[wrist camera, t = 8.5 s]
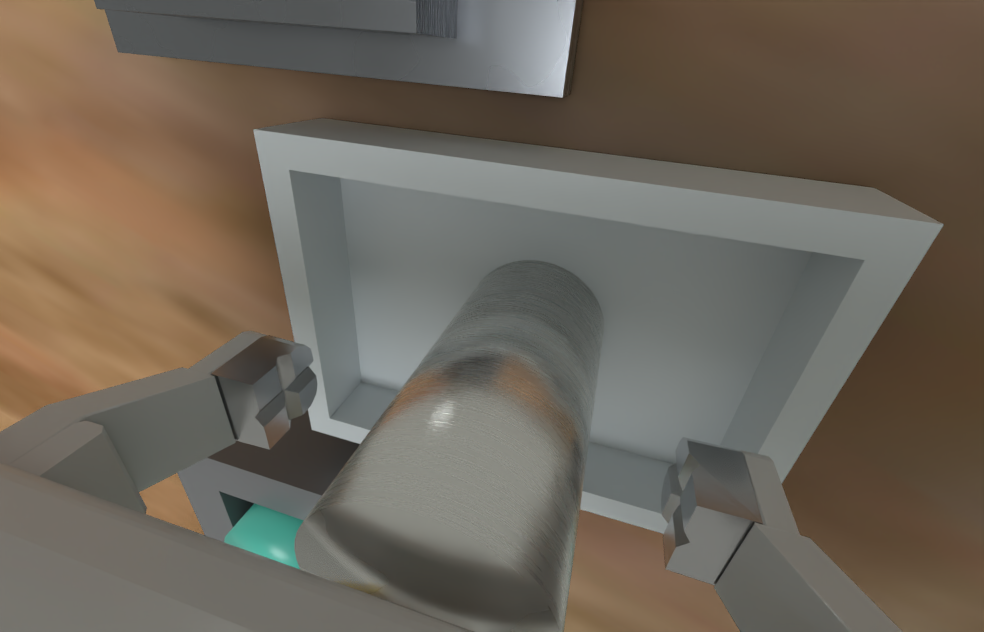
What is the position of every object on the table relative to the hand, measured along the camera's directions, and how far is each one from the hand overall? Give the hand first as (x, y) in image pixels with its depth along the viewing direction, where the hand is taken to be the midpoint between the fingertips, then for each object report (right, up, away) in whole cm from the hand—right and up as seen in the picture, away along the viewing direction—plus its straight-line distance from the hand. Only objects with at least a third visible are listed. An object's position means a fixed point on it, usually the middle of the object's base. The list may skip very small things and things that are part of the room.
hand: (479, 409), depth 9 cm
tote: (+2, +2, +4) cm, 5 cm away
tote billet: (+1, +2, +3) cm, 4 cm away
